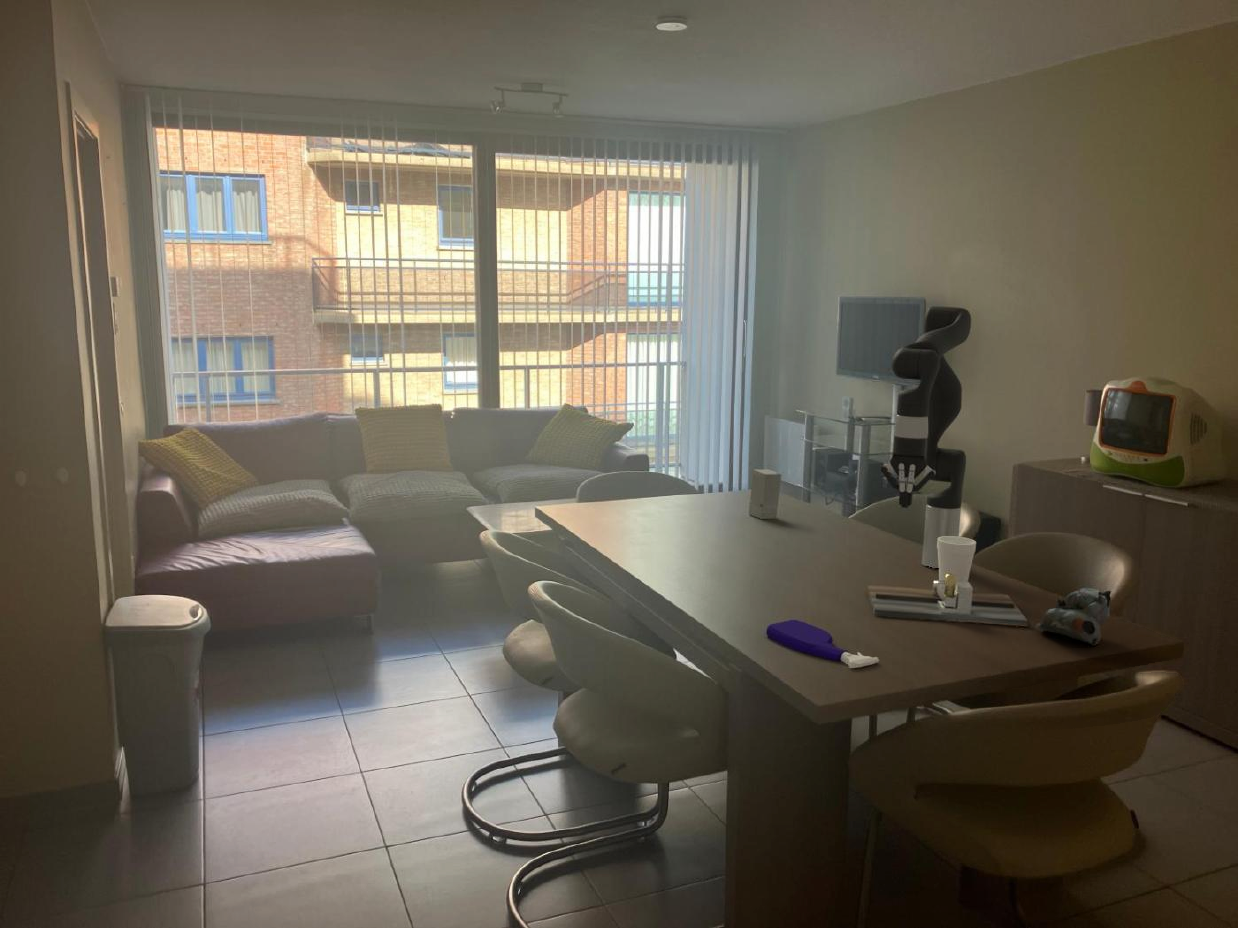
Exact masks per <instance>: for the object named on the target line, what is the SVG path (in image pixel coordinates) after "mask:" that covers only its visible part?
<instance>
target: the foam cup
mask: <svg viewBox="0 0 1238 928" xmlns="http://www.w3.org/2000/svg"><path fill="white" fill-rule="evenodd" d="M976 547H977V541H976V540H974V539H972V538H968V537H963V536H959V537H957V536H942V537H938V540H937V548H938V564H939V569H938V578H939V579H938V580H945V578H946V574H955V575H957V577H956V582H969V578H970V572H971V568H972V563H973V559H974V555H975V553H976Z"/></svg>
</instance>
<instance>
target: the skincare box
mask: <svg viewBox="0 0 1238 928" xmlns="http://www.w3.org/2000/svg"><path fill="white" fill-rule="evenodd" d="M781 481H782V473H779V472H777V471H774V470H770V469H756V468H755V469H753V472H752V480H751V488H750V489H751V490H750V498H749V499H750V500H749V507H748V515H749V516H753V517H754V518H757V519H760V520H771V519H773V520H775V519H777V517H778V515H777V514H778V506H779V498H780V490H781V489H780V488H781Z"/></svg>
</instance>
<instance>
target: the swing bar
mask: <svg viewBox="0 0 1238 928" xmlns="http://www.w3.org/2000/svg"><path fill="white" fill-rule="evenodd" d="M956 577H957V575H955V574H946V578H945V580H939V579H934V580H933V583H932V584H933V585H932V590H935V591H937V593H938V595H939V596H940V598H941V600H942V602H943V604H944V605H945V606H951V607H956V597H955V589H956Z"/></svg>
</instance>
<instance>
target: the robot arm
mask: <svg viewBox="0 0 1238 928" xmlns="http://www.w3.org/2000/svg"><path fill="white" fill-rule="evenodd" d="M971 328H972V316H971V313H970V311H969V310H968V309H966V308H964V307H956V306H955V307H954V306H953V307H952V306H938V305H937V306H935V305H934V306H930V307H929V308H927V310H926V312H925V315H924V323H923V335H920V336H919V338H918V339H917V340H916V341H915V342H911V343H908V344H906V345H904V346H902V347H901V348H899V349H898V350H897V351H896V352H895V354H894V355H893V358H892V361H891V368H892V372H893V373H894V375H895V376H896V377H898V378H899V379H903V380H914V381H915V380H917V381H920V384H919V385H918V386H917V387H915V388H909V389H903V390H901V391H899V393H898V395H897V406H896V417H895V422H894V433H893V445H892V447H893V448H892V455H891V457H890V460H889V462H888V463H886V464H884V465H883V466H881V467H880V471H881V473H882V475H883V476H884V477H885V479H886V480H887V481H888V483H889V485H890V486H891V488H892V489H894V490H897V491H898V492H899V495H898V496H899V497H898V498H899V499H898V504H899V505H900V506H901V508H904V509H908V508H910V507H911V506H912V504H913V497H914V496H913V495H914V492H916V491H917V492H919V491H920V490H921V489H922V488H924V486H925V485H926V484H927V483H928V482H929V481H935V482H943V483H944V482H945V483H950V486H948V487H947V488H945V489H943V490H938V491H935V492H931V493H928V495H927V496H926V507H925V518H924V519H925V520H924V521H925V522H924V532H923V542H922V543H923V545H922V555H921V556H922V557H921V565H923V566H924V567H926V566H929V567H928V568H930V567H932V568H931V569H935V568H939V564H938V548H937V540H938V537H942V536H957V537H960V536H959V535H960V526H961V525H960V524H961V515H962V513H961V511H962V499H963V498H962V497H963V487H964V481H965V473H966V466H967V456H966V452H965V451H964V450H963V449H955V448H945V447H943V448H941V447H938V445H939V442H940V439H941V438H942V437H943V435H944V433H945V432H946V431H947V430H948V428H949V427H950V426H951V425H952V424H953V423H954V421H955V420H956V419H957V418H958V416H959V414H960V413H961V411H962V405H963V404H962V400H963V399H962V398H963V397H962V396H963V394H962V393H963V389H962V388H963V387H962V384H961V383H962V382H961V381H960V380H959V378H958V375H957V374H956V373H955V371H954V370H953V368H952V367H951V365H950V364H949V363H948V361H947V359H946V358H945V354H946V353H948V352H950V351H951V350H953V349H955V348H957V347H959V346H960V345H961V344H963V343H965V342H966V341H967V339H968V338H969V335H970V333H971ZM893 470H894V472H895V474H896V475H897V476H898V480H897V478H896V477H895V475H894V474H893ZM922 472H923V476H924V478H922V479H921V480H920V481H919V482H918V483H917V484H916V479H917V478H918V477H919V476H920V475H921V474H922Z"/></svg>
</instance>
